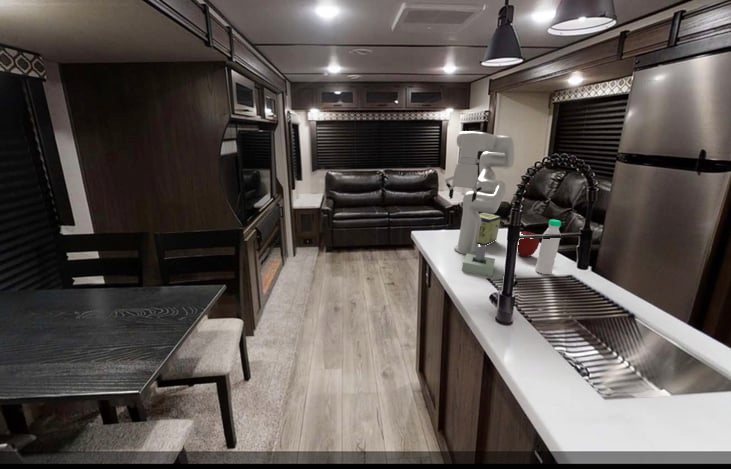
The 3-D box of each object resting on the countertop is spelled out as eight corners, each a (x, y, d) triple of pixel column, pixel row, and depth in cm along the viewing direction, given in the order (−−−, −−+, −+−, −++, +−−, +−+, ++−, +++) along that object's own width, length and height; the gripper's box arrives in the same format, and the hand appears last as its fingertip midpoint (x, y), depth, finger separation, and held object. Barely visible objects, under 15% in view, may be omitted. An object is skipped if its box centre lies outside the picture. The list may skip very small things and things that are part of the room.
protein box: (467, 241, 194) (471, 215, 189) (479, 237, 205) (484, 212, 200) (484, 246, 187) (489, 219, 182) (496, 241, 198) (501, 215, 193)
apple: (508, 250, 184) (513, 227, 180) (530, 252, 183) (536, 229, 179) (515, 258, 172) (521, 233, 168) (539, 260, 171) (545, 235, 167)
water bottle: (542, 268, 161) (554, 217, 154) (555, 274, 155) (568, 222, 148) (531, 269, 159) (543, 218, 151) (543, 276, 152) (556, 222, 145)
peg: (473, 266, 159) (477, 244, 156) (482, 267, 157) (486, 245, 154) (472, 269, 155) (476, 246, 152) (482, 270, 154) (486, 248, 151)
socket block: (465, 261, 164) (466, 253, 163) (493, 266, 160) (495, 258, 159) (461, 270, 153) (462, 262, 152) (491, 276, 148) (493, 268, 147)
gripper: (488, 162, 148) (482, 201, 154) (449, 159, 155) (444, 196, 160) (487, 164, 142) (480, 204, 147) (446, 160, 148) (441, 198, 153)
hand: (461, 199), depth 153 cm, fingers open, 9 cm apart
